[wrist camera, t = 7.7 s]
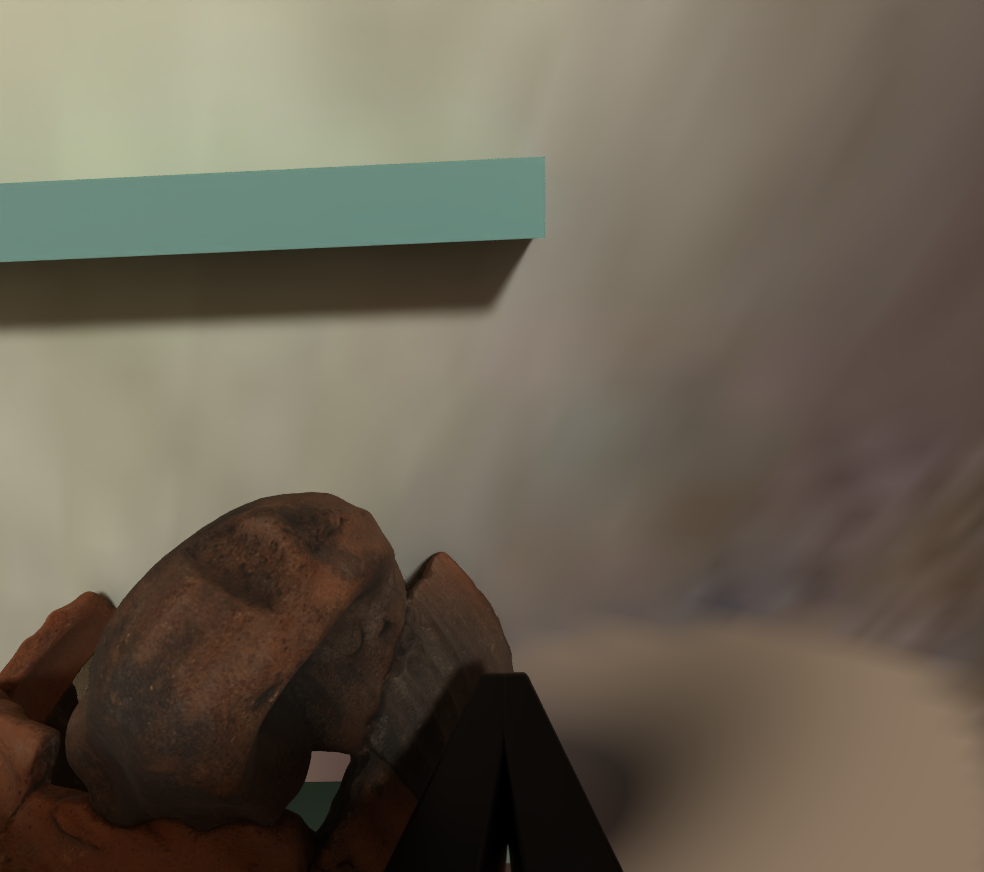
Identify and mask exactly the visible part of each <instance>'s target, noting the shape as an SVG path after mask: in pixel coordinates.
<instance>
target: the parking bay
mask: <svg viewBox="0 0 984 872" xmlns="http://www.w3.org/2000/svg"><path fill="white" fill-rule="evenodd" d="M528 238H545V157H528V158H508V159H488V160H467V161H447V162H427V163H407V164H387V165H366V166H346V167H326V168H306V169H286V170H265V171H245V172H225V173H205V174H185V175H164V176H144V177H124V178H104V179H84V180H63V181H43V182H23V183H3V184H0V262H15V261H37V260H59V259H82V258H104V257H126V256H149V255H171V254H193V253H216V252H238V251H260V250H283V249H305V248H327V247H350V246H372V245H394V244H417V243H439V242H461V241H484V240H506V239H528ZM340 785H341V782H304V784H303V786H302V788H301V790H300V791H299V793H298V794H297V796H296V797H295V798H294V799H293V800H292V801H291V802H290V803H289V804H288V806H287V807H286V809H288V810H291V811H293V812H295V813H297V814H299V815H300V816H301V817H302V818H303V820H304V822H305V823H306V824H307V825H308V827H309V828H311V829H312V830H314V831H317V830H318V829H319V828H320V827H321V825H322V824H323V822H324V820H325V818H326V816H327V814H328V812H329V810H330V806H331V802H332V800H333V798H334V797H335V795H336V793H337V791H338V789H339V787H340ZM506 863H510V858H509V849H507V860H506Z"/></svg>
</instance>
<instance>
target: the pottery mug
mask: <svg viewBox="0 0 984 872" xmlns="http://www.w3.org/2000/svg"><path fill="white" fill-rule="evenodd" d="M394 558H395V555H394V550H393V548H392V546H391V544H390V543H389V541H388V540H387V538H386V537H385V536H384V534H383V533H382V531H381V529H380V527H379V526H378V524H377V522H376V521H375V519H374V517H373V516H372V515H371V513H370V512H368V511H366V510H364V509H362V508H359V507H356V506H354V505H352V504H350V503H348V502H346V501H344V500H343V499H341V498H339V497H337V496H335V495H332V494H328V493H317V492H306V493H293V494H282V495H276V496H271V497H265V498H260V499H258V500H255V501H253V502H250V503H247V504H245V505H243V506H240V507H238V508H236V509H234V510H232V511H230V512H228V513H226V514H224V515H223V516H221V517H219V518H218V519H216V520H214V521H213V522H211V523H210V524H208V525H206V526H205V527H203V528H201V529H200V530H198V531H197V532H196V533H195V534H193V535H192V536H191V537H189V538H188V539H186V540H185V541H183V542H182V543H181V544H179V545H178V546H177V547H176V548H175V549H173V550H172V551H171V552H169V553H168V554H167V555H165V556H164V557H163V558H162V559H161V560H160V561H159V562H157V563H156V564H155V565H154V566H153V567H152V568H151V569H150V570H149V571H148V572H147V573H146V574H145V576H144V577H143V578H142V579H141V580H140V581H139V582H138V583H137V584H136V585H135V586H134V587H133V588H132V590H131V591H130V592H129V593H128V594H127V596H126V597H125V598H124V599H123V600H122V602H121V603H120V605H119V606H118V608H117V609H115V608H113V607H111V606H108V604H107V602H106V601H105V600H104V599H103V598H102V597H100V596H99V595H98V594H96V593H94V592H90V591H89V592H85V593H83V594H82V595H80V596H79V597H78V598H77V599H76V600H74V601H73V602H72V603H70V604H68V605H66V606H64V607H62V608H59V609H57V610H55V611H53V612H52V613H51V614H50V615H49V616H48V617H47V619H46V621H45V623H44V624H43V626H42V627H41V628H40V629H39V630H38V631H37V632H36V633H35V634H34V635H32V636H31V637H29V638H28V639H26V640H25V641H24V642H23V643H22V644H21V646H20V647H19V649H18V650H17V652H16V653H15V655H14V656H13V658H12V659H11V660H10V661H9V663H8V664H7V665H6V666H5V668H4V669H3V670H2V672H1V673H0V872H383V870H384V868H385V866H386V864H387V862H388V860H389V858H390V856H391V854H392V852H393V850H394V848H395V846H396V844H397V842H398V840H399V838H400V836H401V834H402V832H403V830H404V828H405V826H406V825H407V823H408V821H409V819H410V817H411V815H412V813H413V811H414V809H415V807H416V805H417V803H418V801H419V799H420V797H421V795H422V793H423V791H424V789H425V787H426V785H427V783H428V781H429V779H430V777H431V775H432V773H433V771H434V769H435V767H436V765H437V763H438V761H439V759H440V757H441V755H442V753H443V751H444V749H445V747H446V745H447V743H448V741H449V739H450V737H451V735H452V733H453V731H454V729H455V727H456V725H457V723H458V721H459V719H460V717H461V715H462V713H463V711H464V709H465V707H466V705H467V703H468V701H469V699H470V697H471V695H472V693H473V691H474V689H475V687H476V685H477V683H478V681H479V679H480V677H481V676H482V674H484V673H500V672H502V673H506V672H513V666H512V654H511V650H510V647H509V645H508V643H507V641H506V638H505V636H504V633H503V630H502V627H501V624H500V621H499V619H498V617H497V616H496V614H495V612H494V610H493V608H492V606H491V604H490V603H489V601H488V600H487V599H486V597H485V596H484V595H483V593H481V592H480V591H479V590H478V589H477V587H476V586H475V584H474V582H473V581H472V580H471V579H470V577H469V576H468V575H467V574H466V573H465V571H463V570H462V569H461V568H460V567H459V565H458V564H457V563H456V562H455V561H454V560H453V559H452V558H451V557H450V556H449V555H448V554H447V553H444V552H438V553H436V554H435V555H434V556H432V557H431V558H430V560H429V561H428V562H427V564H426V566H425V568H424V571H423V575H422V577H421V580H419V581H418V582H416V583H415V584H414V585H413V586H412V588H411V589H410V590H409V591H408V593H407V594H406V589H405V583H404V579H403V577H402V574H401V571H400V569H399V567H398V564H397V562H396V560H395V559H394ZM93 654H94V655H93ZM92 656H93V659H92V663H91V667H90V672H89V689H88V690H87V692H86V693H85V695H84V696H83V698H82V699H81V700H80V702H78V699H77V691H76V688H75V686H74V685H73V683H72V682H73V680H74V678H75V677H76V675H77V674H78V672H79V671H80V670H81V668H82V667H83V666H84V665H85V663H86V662H87V661H88V660H89V659H90V658H91V657H92ZM312 751H327V752H340V753H344V754H350V757H351V761H350V763H349V765H348V767H347V769H346V771H345V774H344V776H343V779H342V782H341V785H340V787H339V789H338V791H337V793H336V795H335V797H334V798H333V800H332V802H331V806H330V810H329V812H328V814H327V816H326V818H325V820H324V822H323V824H322V825H321V827H320V828H319V829H318V830H317V831H314V830H312V829H311V828H309V827H308V825H307V824H306V823H305V822H304V820H303V818H302V817H301V816H300V815H299V814H297V813H295V812H293V811H291V810H288V809H286V807H287V806H288V804H289V803H290V802H291V801H292V800H293V799H294V798H295V797H296V796H297V794H298V793H299V791H300V790H301V788H302V786H303V784H304V782H305V779H306V776H307V772H308V769H309V765H310V760H311V753H312Z"/></svg>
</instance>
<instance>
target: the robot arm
mask: <svg viewBox="0 0 984 872" xmlns="http://www.w3.org/2000/svg"><path fill="white" fill-rule="evenodd" d="M507 849H509V858H510V866H511V872H623V870H622V868H621V866H620V864H619V862H618V860H617V857H616V856H615V853H614V852H613V849H612V847H611V845H610V843H609V841H608V839H607V837H606V835H605V833H604V831H603V829H602V827H601V825H600V823H599V821H598V819H597V816H596V814H595V812H594V811H593V809H592V806H591V804H590V802H589V800H588V798H587V796H586V794H585V792H584V790H583V788H582V786H581V784H580V781H579V779H578V778H577V775H576V774H575V771H574V769H573V767H572V765H571V763H570V761H569V759H568V757H567V755H566V753H565V751H564V749H563V747H562V744H561V742H560V740H559V738H558V736H557V734H556V732H555V730H554V728H553V726H552V724H551V722H550V720H549V718H548V716H547V714H546V712H545V710H544V708H543V706H542V704H541V702H540V699H539V697H538V695H537V693H536V691H535V689H534V687H533V685H532V683H531V681H530V679H529V677H528V675H527V674H526V673H524V672H506V673H502V672H500V673H484V674H482V676H481V677H480V679H479V681H478V683H477V685H476V687H475V689H474V691H473V693H472V695H471V697H470V699H469V701H468V703H467V705H466V707H465V709H464V711H463V713H462V715H461V717H460V719H459V721H458V723H457V725H456V727H455V729H454V731H453V733H452V735H451V737H450V739H449V741H448V743H447V745H446V747H445V749H444V751H443V753H442V755H441V757H440V759H439V761H438V763H437V765H436V767H435V769H434V771H433V773H432V775H431V777H430V779H429V781H428V783H427V785H426V787H425V789H424V791H423V793H422V795H421V797H420V799H419V801H418V803H417V805H416V807H415V809H414V811H413V813H412V815H411V817H410V819H409V821H408V823H407V825H406V826H405V828H404V830H403V832H402V834H401V836H400V838H399V840H398V842H397V844H396V846H395V848H394V850H393V852H392V854H391V856H390V858H389V860H388V862H387V864H386V866H385V868H384V870H383V872H505V871H506V860H507Z"/></svg>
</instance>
